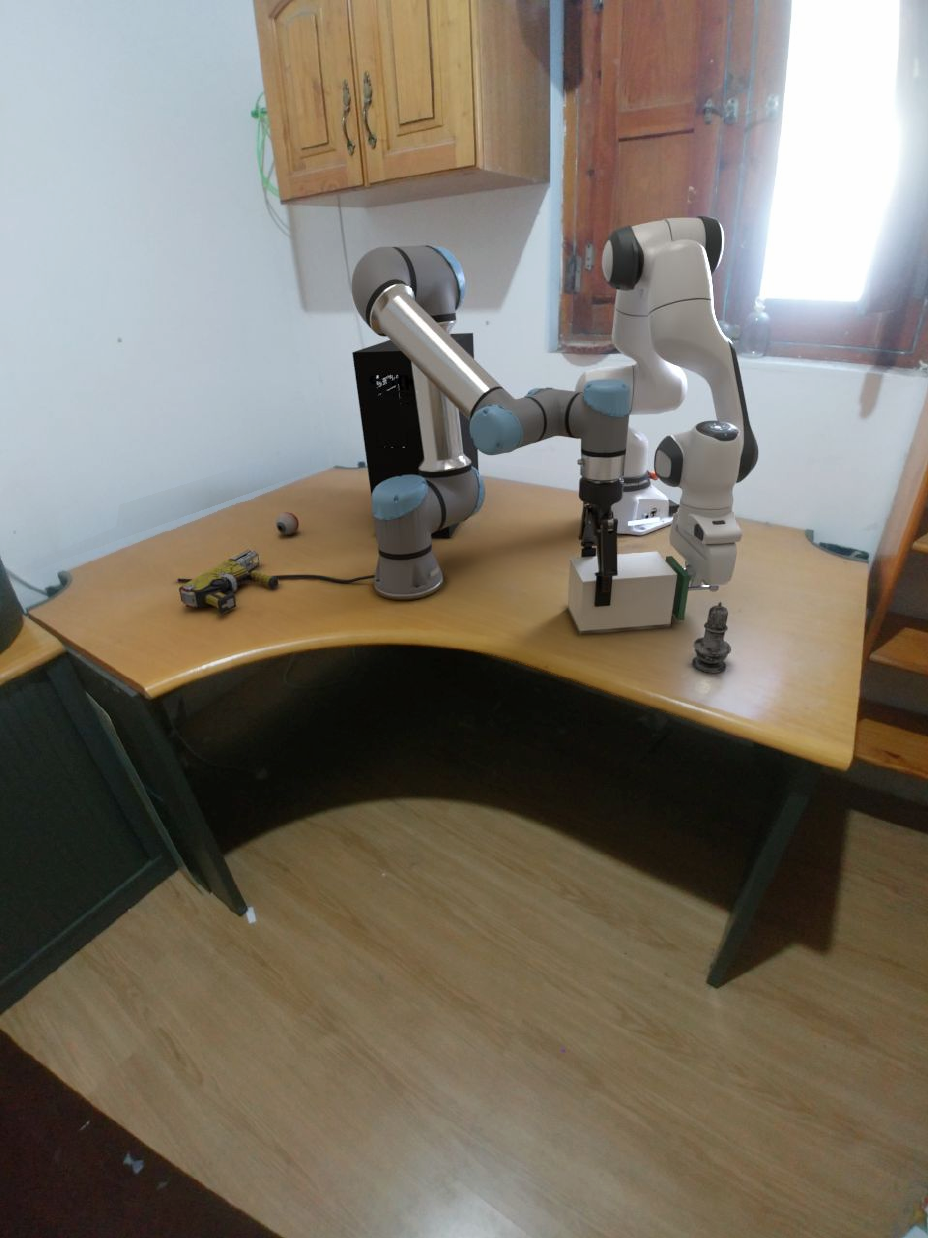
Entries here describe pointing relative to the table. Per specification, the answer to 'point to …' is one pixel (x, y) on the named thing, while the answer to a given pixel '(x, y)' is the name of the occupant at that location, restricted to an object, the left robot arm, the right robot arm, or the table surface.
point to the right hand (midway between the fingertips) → (693, 585)
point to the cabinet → (623, 594)
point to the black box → (397, 414)
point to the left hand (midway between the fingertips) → (594, 591)
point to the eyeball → (287, 523)
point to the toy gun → (223, 583)
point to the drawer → (683, 588)
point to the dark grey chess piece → (713, 642)
